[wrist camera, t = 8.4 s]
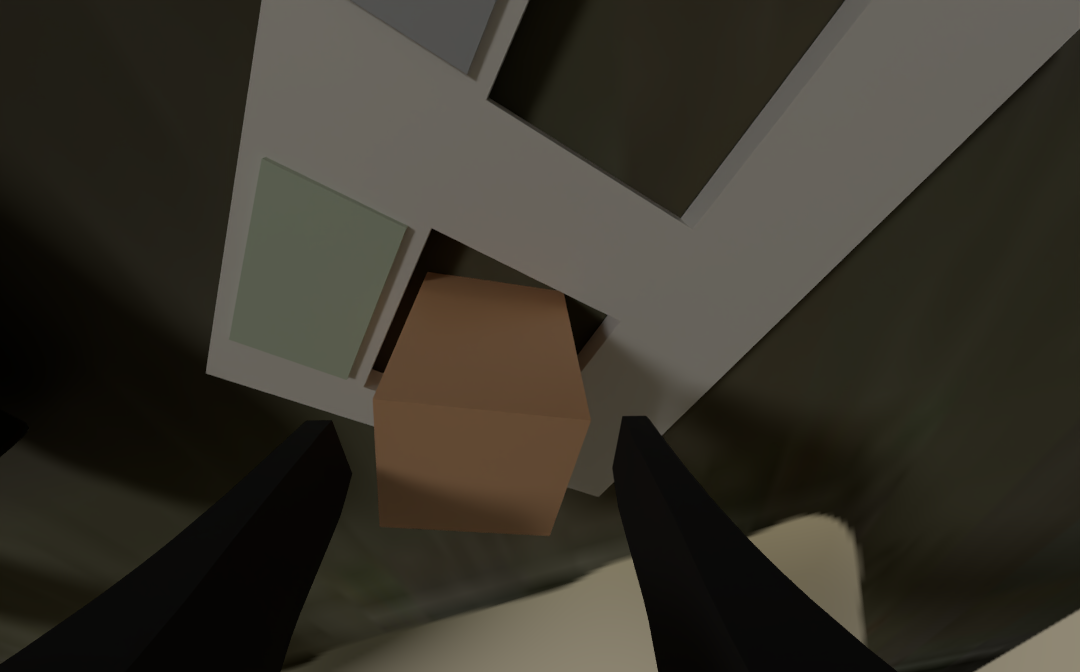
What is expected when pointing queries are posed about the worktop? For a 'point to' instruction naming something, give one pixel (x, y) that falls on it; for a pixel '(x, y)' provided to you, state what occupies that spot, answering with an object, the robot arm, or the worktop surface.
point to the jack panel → (573, 192)
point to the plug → (479, 410)
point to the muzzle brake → (10, 431)
